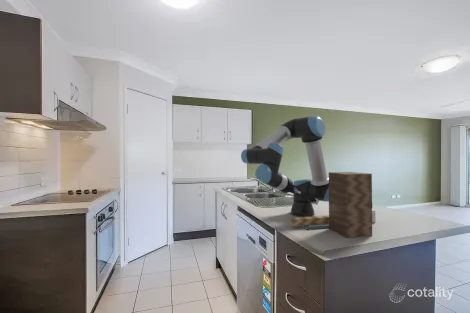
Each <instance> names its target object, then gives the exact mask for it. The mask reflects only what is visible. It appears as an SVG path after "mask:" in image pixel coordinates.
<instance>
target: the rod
mask: <svg viewBox="0 0 470 313" xmlns="http://www.w3.org/2000/svg"><path fill="white" fill-rule="evenodd" d="M314 224H329V214H327V215H314V216H310V217H301V216H295V217H290V225H291V226H292V227H297V226H302V225H314Z"/></svg>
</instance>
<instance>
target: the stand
mask: <svg viewBox="0 0 470 313" xmlns="http://www.w3.org/2000/svg"><path fill="white" fill-rule="evenodd" d="M372 174H373V173H369V172H368V173H367V172H357V171H338V172H337V171H336V172H335V171H334V172H330V171H329V172H328V178H329V202H328V215H329V228H328V230H330V231H331V232H332V231H333V232H334V233H336V234H337V235H340V236H342V237H343V238H346V239H349V238H350V239H351V238H361V237H372V236H373V223H372V209H373V182H372V181H373V178H372V177H373V175H372Z"/></svg>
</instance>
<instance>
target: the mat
mask: <svg viewBox="0 0 470 313" xmlns="http://www.w3.org/2000/svg"><path fill="white" fill-rule="evenodd" d="M303 226H304V228H305V227H306V228H305V229H306V230H308V229H312V230H323V229H329V224H314V225H303ZM303 226H302V227H303Z"/></svg>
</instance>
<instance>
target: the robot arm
mask: <svg viewBox="0 0 470 313" xmlns="http://www.w3.org/2000/svg"><path fill="white" fill-rule="evenodd" d="M325 130H326V126H325V123H324V121H323V119H322V118H321V117H320V116H319V115H317V116H315V115H314V116H312V115H311V116H305V117H298V118H292V119H290V120H288V121H286V122H284V123H283V124H280V126H278V127H277V129H276V130H275V131H274V132H272V133H271V134H270V135H269V136H267V137H266V138H263V140H261V141H260V142H258V143H257V144H255V145H254V146H252V147H251V148H245V149H243V150H242V151H241V154H240V158H241V161H242V163H244V164H248V165H257V164H258V165H259V166H257V168H256V170H255V178H256V179H257V180H258V181H259V182H261V183H263V184H265V185H267V186H269V187H272V188H273V190H274V191H275V190H277V191H279V192H280V193H283V194H288V193H291V194H293V195H292V196H293V203H292V206H291V208H290V214H291V215H292V214H293V216H295V215H296V216H295V217H301V216H302V217H310V216H315V210H314V205H316V206H318V205H319V202H328V203H329V176H328V175H327V170H326V164H325V158H324V153H323V148H322V144H321V143H322V142H321V141H322V139H323V136H324V135H325V132H326V131H325ZM290 139H291V140H292V139H301V142H302V143H303V144H304V145H305V150H306V154H307V158H308V164H309V168H310V173H311V176H312V177H311V179H310V178H306V179H304V178H303V179H297V180H294V181H293V180H292V179H291V178H289V177H288V176H286V175H284V174H282V173H281V172H279V170H280V165H281V163H282V162H281V161H282V158H283V153H284V146H282V145H281V144H282V143H284V142H287V141H289V140H290ZM313 204H314V205H313Z"/></svg>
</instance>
